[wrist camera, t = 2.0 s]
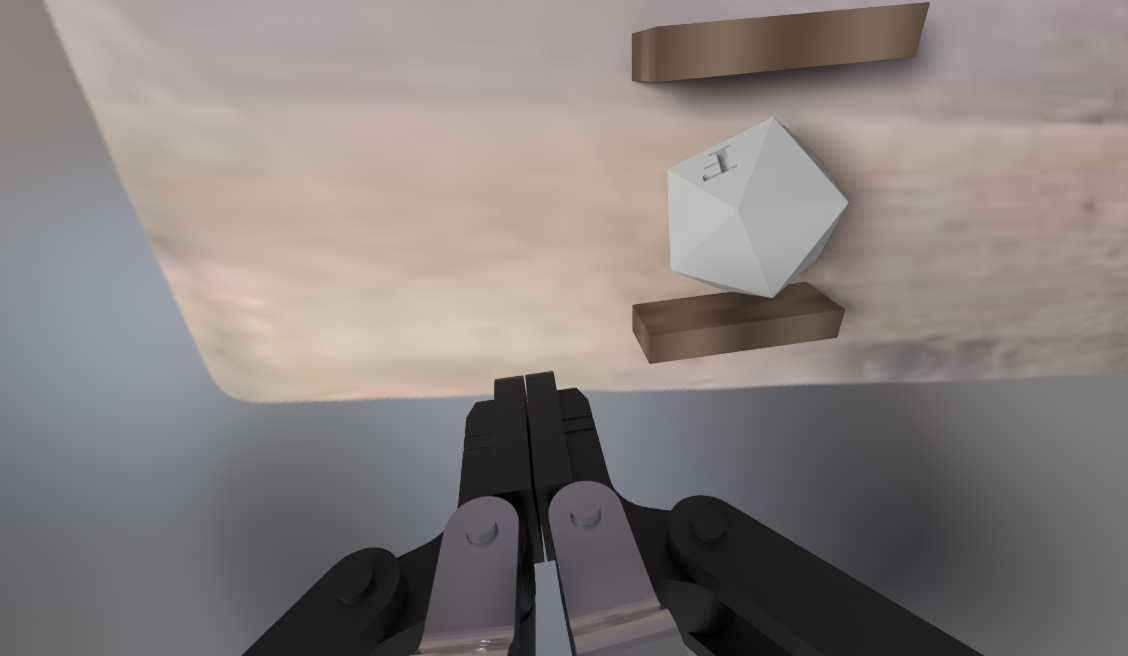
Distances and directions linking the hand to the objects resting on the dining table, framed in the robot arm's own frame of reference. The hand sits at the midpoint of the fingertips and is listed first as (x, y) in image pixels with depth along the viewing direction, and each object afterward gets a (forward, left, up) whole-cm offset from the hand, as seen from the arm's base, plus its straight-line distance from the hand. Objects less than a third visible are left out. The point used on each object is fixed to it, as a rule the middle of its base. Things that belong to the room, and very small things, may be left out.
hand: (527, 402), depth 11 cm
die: (-12, 0, -17) cm, 20 cm away
